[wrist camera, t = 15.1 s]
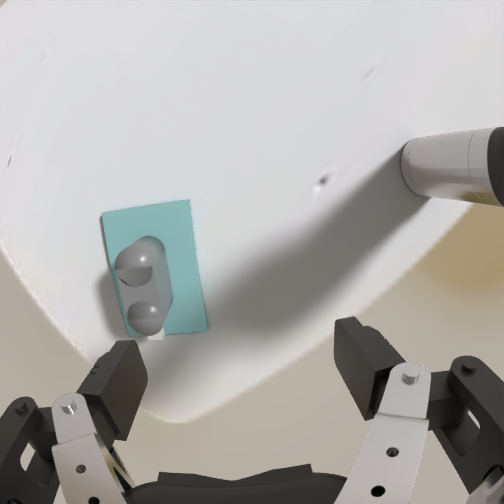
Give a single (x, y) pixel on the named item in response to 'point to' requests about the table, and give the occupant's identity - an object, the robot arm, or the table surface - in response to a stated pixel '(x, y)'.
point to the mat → (177, 252)
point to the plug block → (145, 286)
